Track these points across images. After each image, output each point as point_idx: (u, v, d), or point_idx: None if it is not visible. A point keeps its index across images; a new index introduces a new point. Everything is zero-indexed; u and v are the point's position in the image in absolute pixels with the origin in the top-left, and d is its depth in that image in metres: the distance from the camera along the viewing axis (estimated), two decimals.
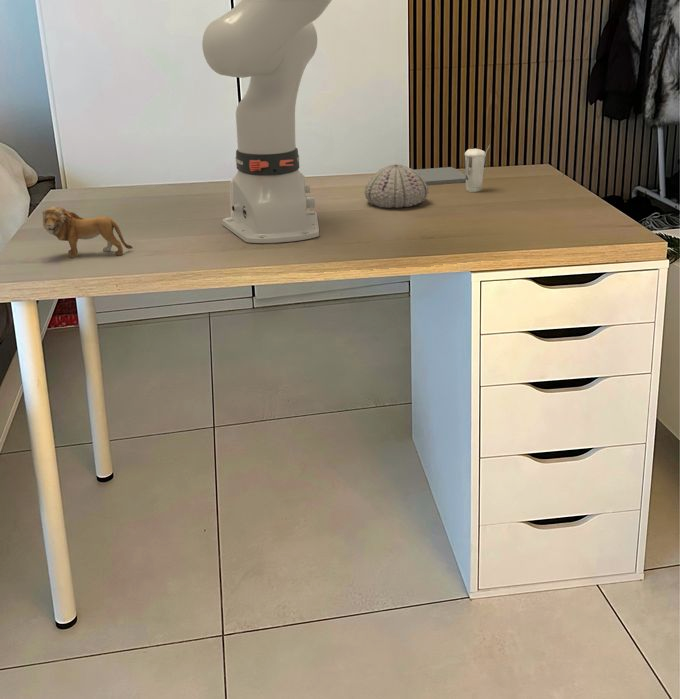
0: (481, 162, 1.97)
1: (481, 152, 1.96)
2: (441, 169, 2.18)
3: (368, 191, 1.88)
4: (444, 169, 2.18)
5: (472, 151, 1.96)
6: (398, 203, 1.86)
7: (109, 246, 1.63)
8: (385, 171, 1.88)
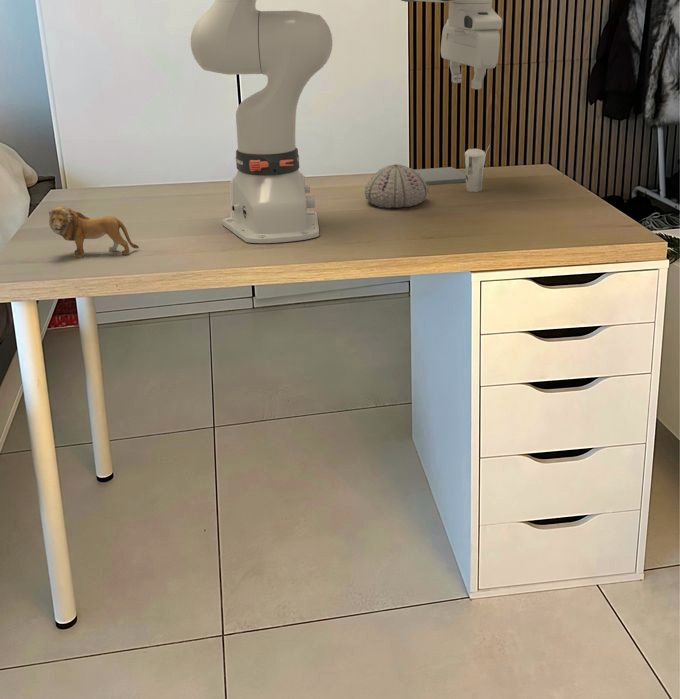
0: (481, 162, 1.97)
1: (481, 152, 1.96)
2: (441, 169, 2.18)
3: (368, 191, 1.88)
4: (444, 169, 2.18)
5: (472, 151, 1.96)
6: (398, 203, 1.86)
7: (115, 246, 1.63)
8: (385, 171, 1.88)
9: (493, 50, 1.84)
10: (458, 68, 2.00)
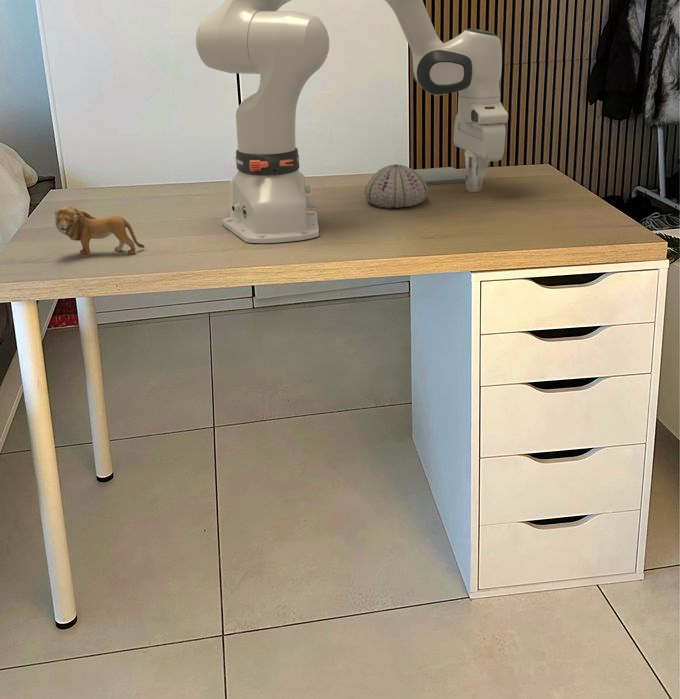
0: None
1: None
2: (441, 169, 2.18)
3: (368, 191, 1.88)
4: (444, 169, 2.18)
5: None
6: (398, 203, 1.86)
7: (121, 245, 1.63)
8: (385, 171, 1.88)
9: (498, 143, 1.88)
10: None
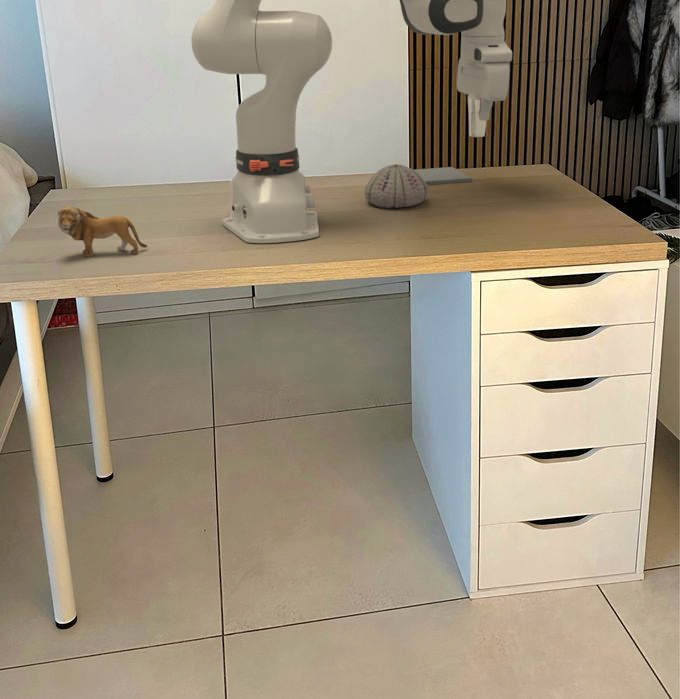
0: None
1: None
2: (441, 169, 2.18)
3: (368, 191, 1.88)
4: (444, 169, 2.18)
5: None
6: (398, 203, 1.86)
7: (124, 245, 1.63)
8: (385, 171, 1.88)
9: (502, 82, 1.82)
10: None
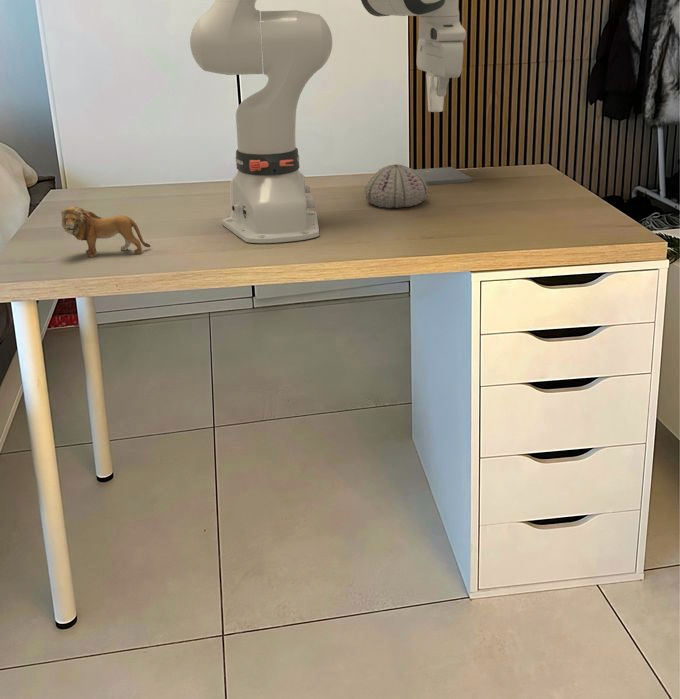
0: None
1: None
2: (441, 169, 2.18)
3: (368, 191, 1.88)
4: (444, 169, 2.18)
5: None
6: (398, 203, 1.86)
7: (127, 245, 1.63)
8: (385, 171, 1.88)
9: (456, 60, 1.94)
10: None
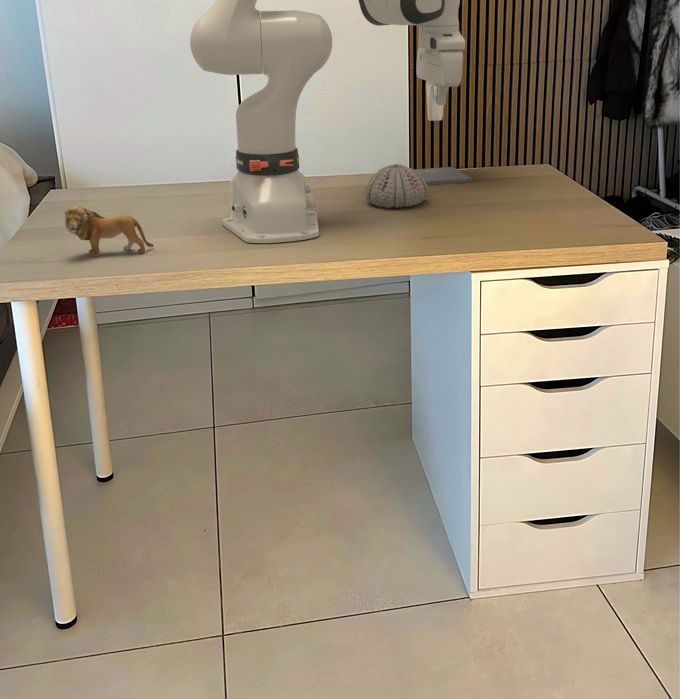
0: None
1: None
2: (441, 169, 2.18)
3: (368, 191, 1.88)
4: (444, 169, 2.18)
5: None
6: (398, 203, 1.86)
7: (130, 245, 1.63)
8: (385, 171, 1.88)
9: (456, 69, 1.95)
10: None
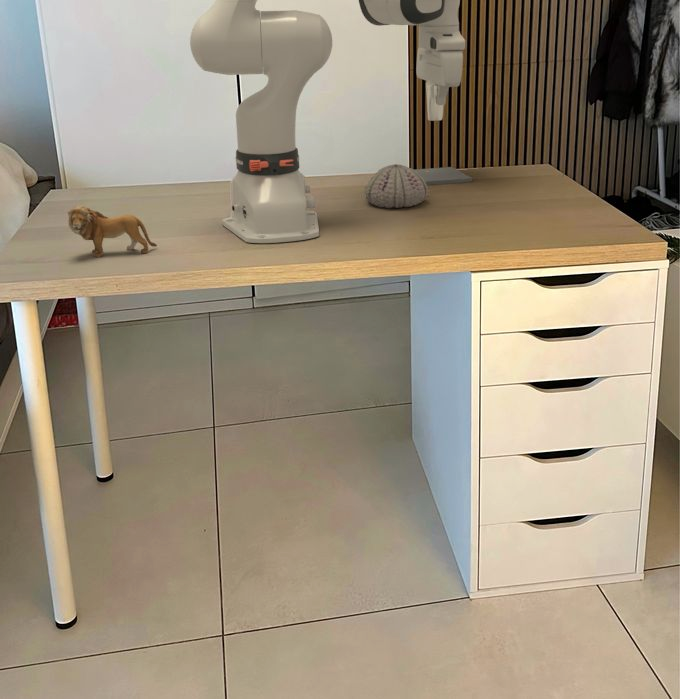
0: None
1: None
2: (441, 169, 2.18)
3: (368, 191, 1.88)
4: (444, 169, 2.18)
5: None
6: (398, 203, 1.86)
7: (133, 244, 1.63)
8: (385, 171, 1.88)
9: (456, 69, 1.95)
10: None
